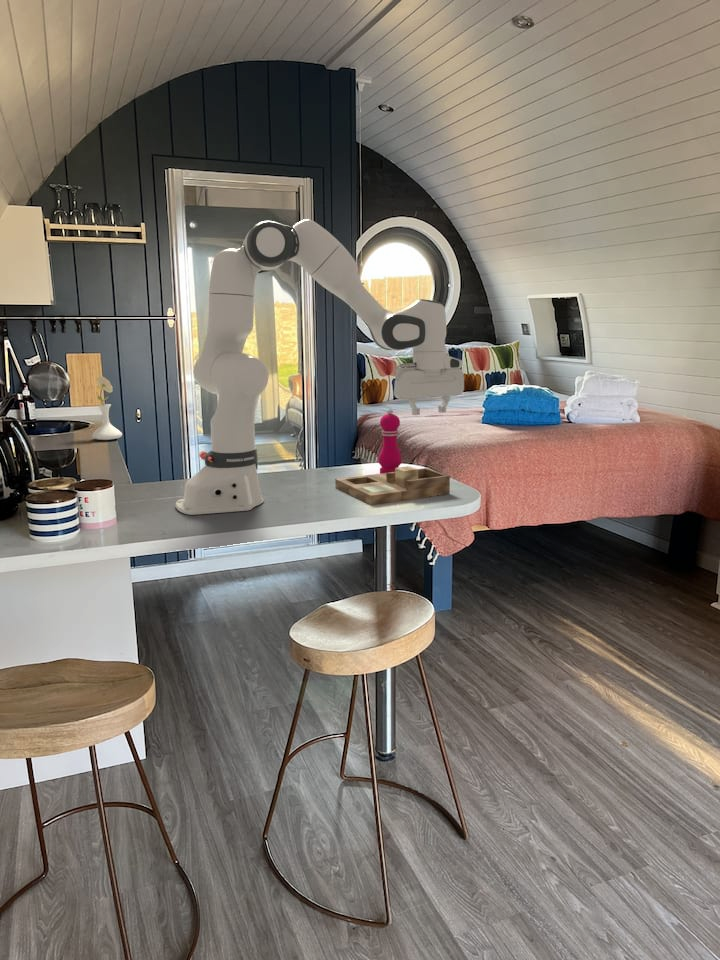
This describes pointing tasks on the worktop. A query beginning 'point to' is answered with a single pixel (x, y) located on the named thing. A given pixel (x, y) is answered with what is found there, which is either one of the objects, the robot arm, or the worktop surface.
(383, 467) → the pepper mill
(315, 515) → the worktop surface
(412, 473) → the maple block
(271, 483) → the worktop surface
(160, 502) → the worktop surface
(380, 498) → the board
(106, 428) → the flower in vase
